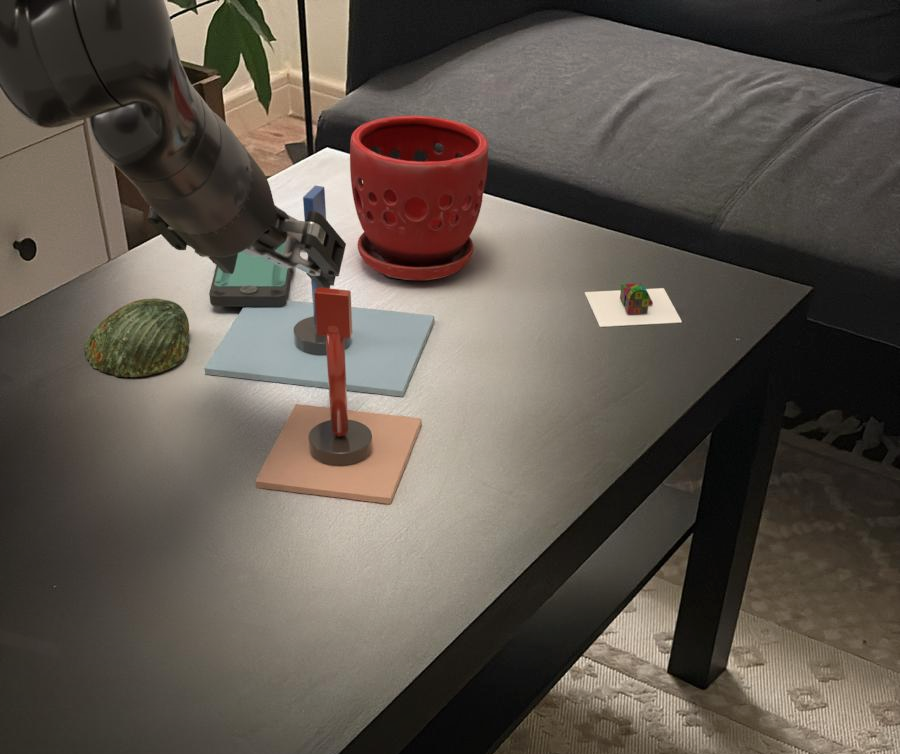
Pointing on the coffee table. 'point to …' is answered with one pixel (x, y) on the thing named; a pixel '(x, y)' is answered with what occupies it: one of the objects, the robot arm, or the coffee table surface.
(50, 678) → the coffee table surface
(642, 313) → the white paper mat
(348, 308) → the red rod on disc
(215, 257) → the robot arm
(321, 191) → the blue rod on disc
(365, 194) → the flower pot
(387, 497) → the orange mat
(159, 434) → the coffee table surface
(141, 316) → the seashell
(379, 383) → the blue mat
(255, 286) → the smartphone
